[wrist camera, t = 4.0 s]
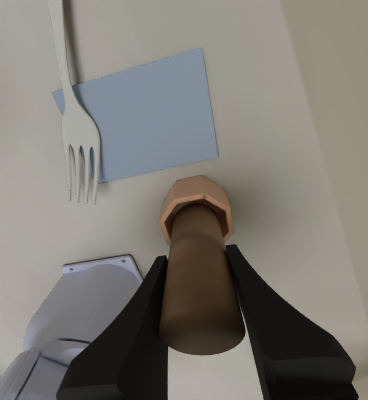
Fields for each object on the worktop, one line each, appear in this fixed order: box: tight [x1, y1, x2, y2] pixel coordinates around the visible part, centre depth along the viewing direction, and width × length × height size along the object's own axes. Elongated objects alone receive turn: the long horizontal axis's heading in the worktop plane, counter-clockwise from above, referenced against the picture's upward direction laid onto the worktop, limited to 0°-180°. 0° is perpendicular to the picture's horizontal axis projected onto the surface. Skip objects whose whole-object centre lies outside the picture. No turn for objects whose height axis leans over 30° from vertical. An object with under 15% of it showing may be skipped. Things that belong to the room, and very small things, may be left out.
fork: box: [48, 0, 100, 205], centre depth 13 cm, size 3×24×2 cm, turn 175°
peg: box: [159, 203, 246, 355], centre depth 13 cm, size 4×4×9 cm
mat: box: [51, 48, 218, 184], centre depth 16 cm, size 12×8×1 cm, turn 103°
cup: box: [159, 175, 234, 245], centre depth 18 cm, size 6×6×4 cm
